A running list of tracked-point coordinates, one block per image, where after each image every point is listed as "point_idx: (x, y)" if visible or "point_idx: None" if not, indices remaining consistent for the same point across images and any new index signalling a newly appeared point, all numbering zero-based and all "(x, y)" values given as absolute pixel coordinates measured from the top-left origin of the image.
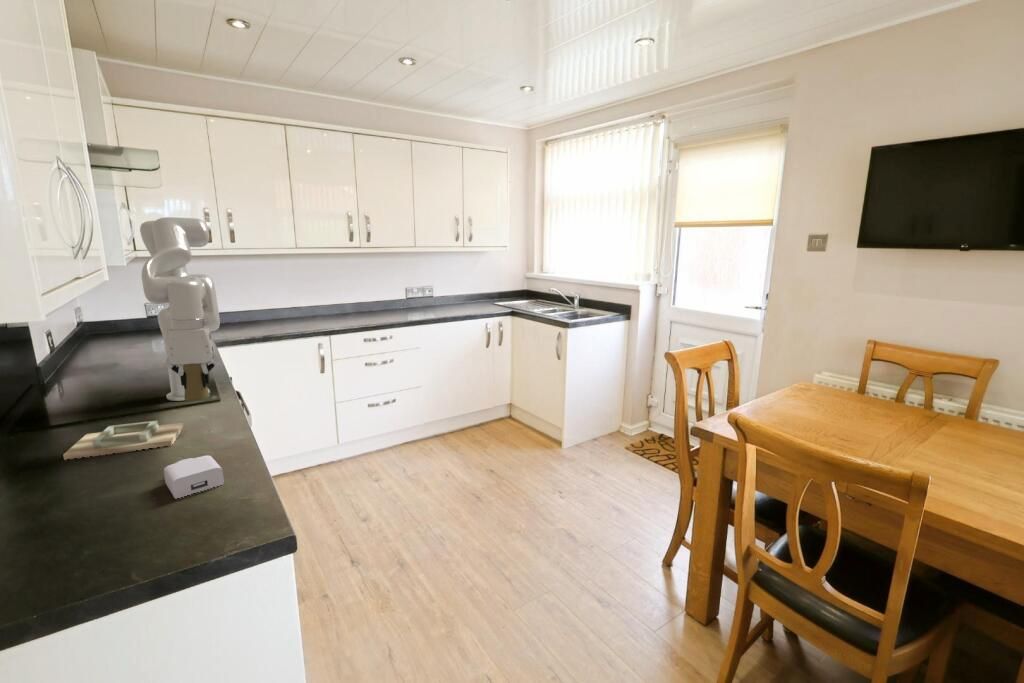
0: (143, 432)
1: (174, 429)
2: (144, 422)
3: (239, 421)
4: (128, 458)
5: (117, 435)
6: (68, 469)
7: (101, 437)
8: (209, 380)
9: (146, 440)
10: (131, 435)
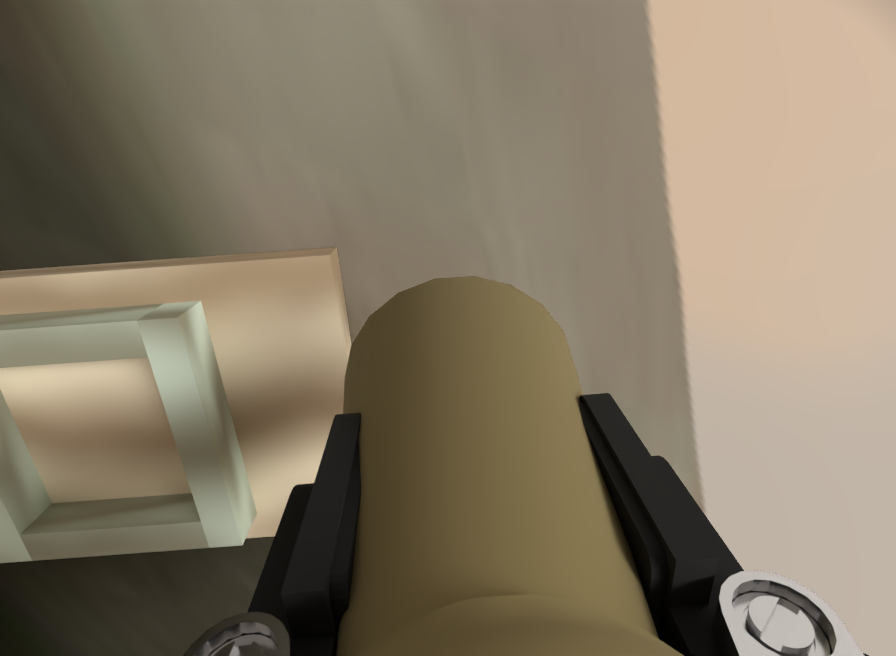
0: (208, 512)
1: (325, 375)
2: (101, 334)
3: (668, 236)
4: (245, 582)
5: (20, 381)
6: (62, 619)
7: (6, 526)
8: (667, 469)
9: (252, 519)
10: (165, 537)
